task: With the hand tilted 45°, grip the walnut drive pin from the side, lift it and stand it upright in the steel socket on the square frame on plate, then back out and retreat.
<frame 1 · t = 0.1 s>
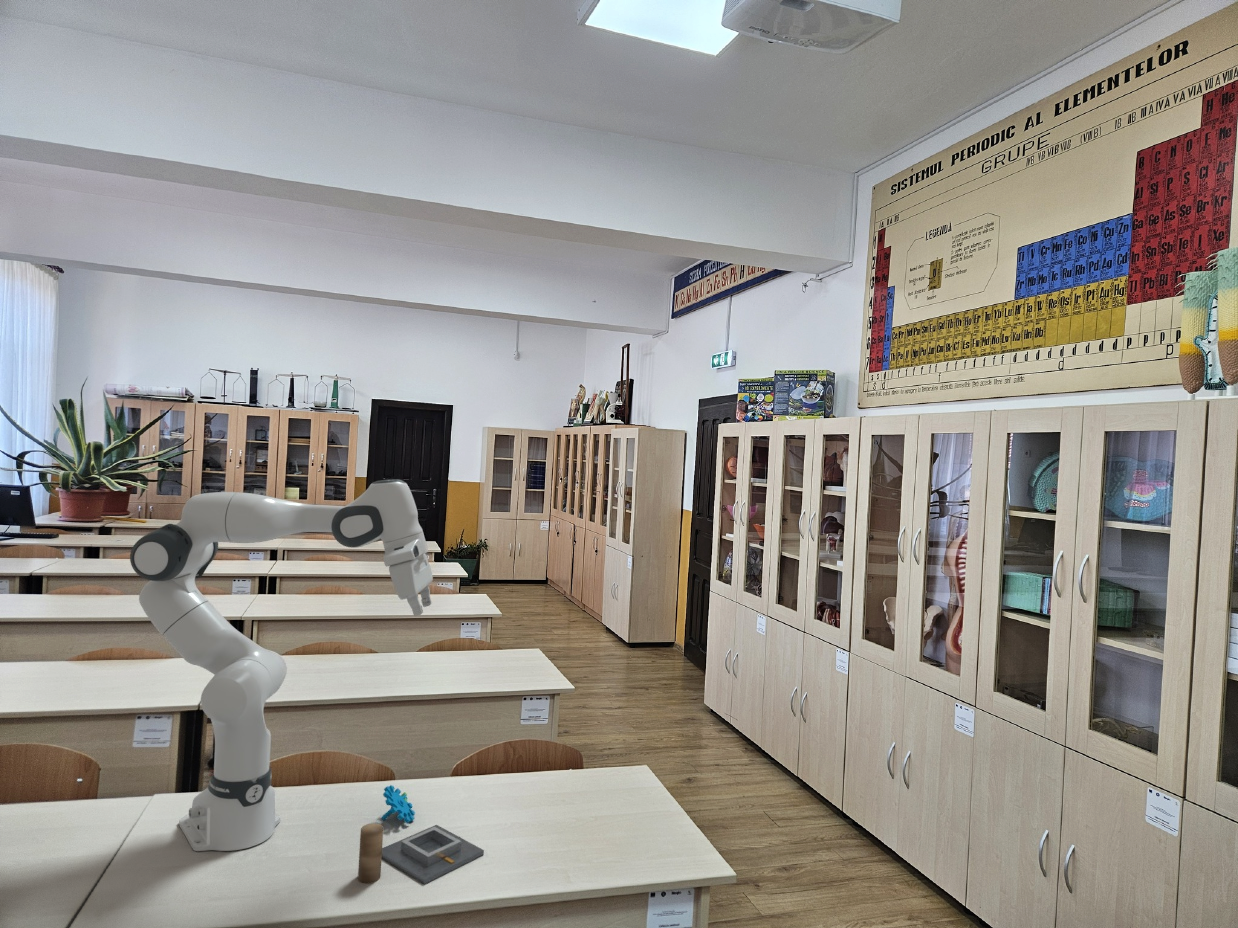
hand: (423, 610, 172), 52 cm above the table, tool tilted 20°, fingers open, 8 cm apart
square frame on plate: (430, 854, 168), on the table
drive pin: (369, 876, 159), on the table
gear: (398, 819, 183), on the table
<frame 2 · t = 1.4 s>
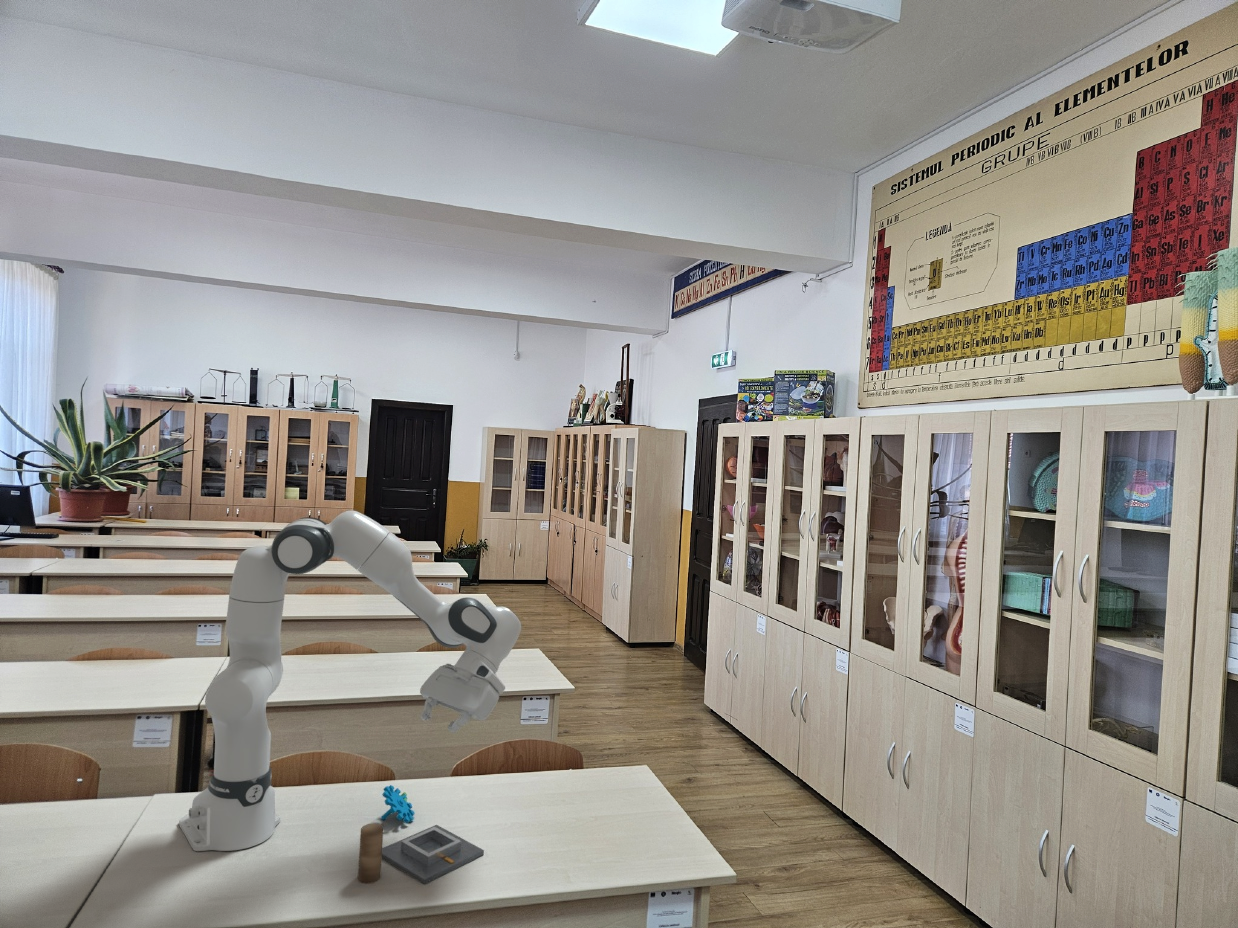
hand: (437, 724, 170), 27 cm above the table, tool tilted 45°, fingers open, 8 cm apart
nothing on the table moved.
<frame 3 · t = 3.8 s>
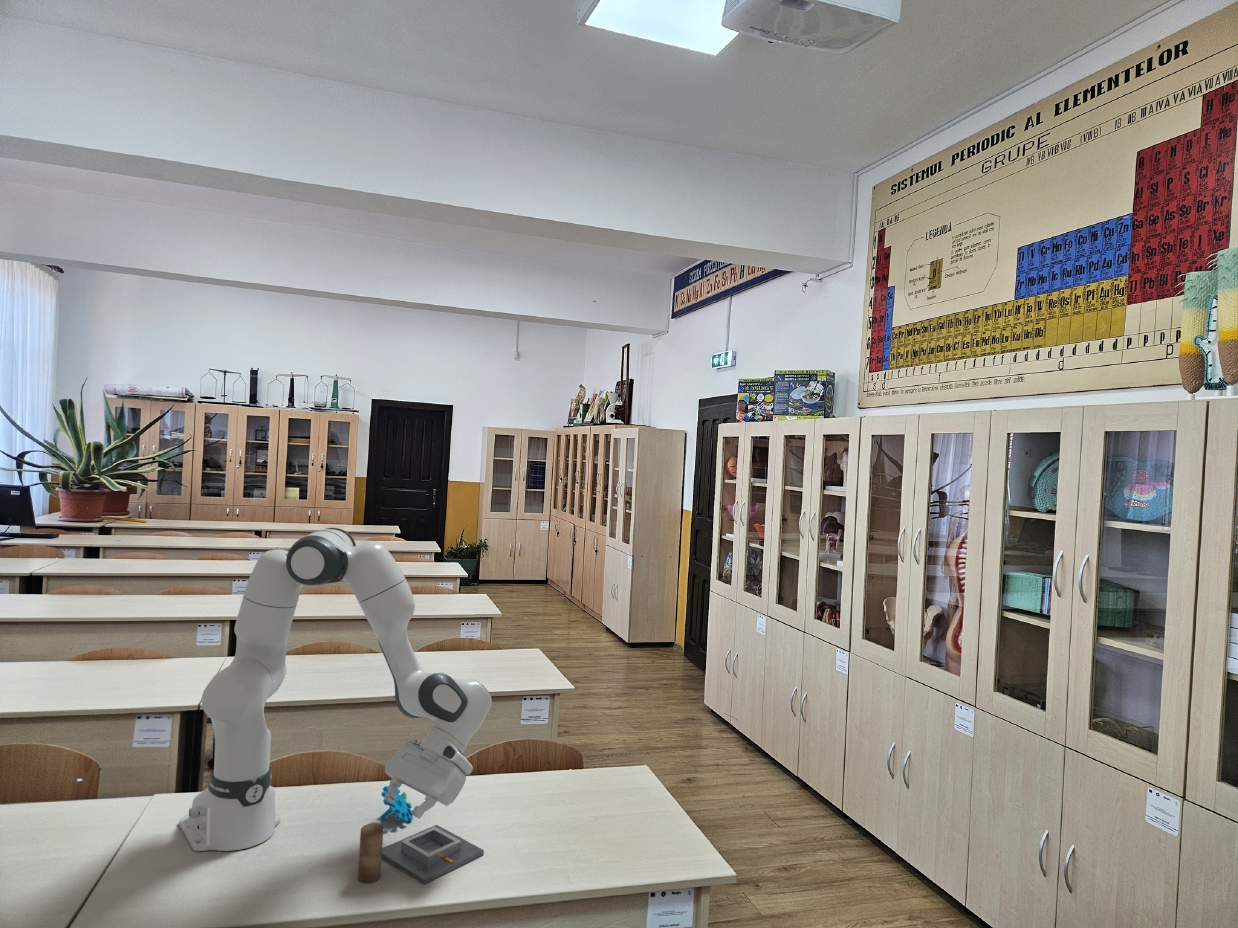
hand: (401, 808, 164), 12 cm above the table, tool tilted 45°, fingers open, 8 cm apart
nothing on the table moved.
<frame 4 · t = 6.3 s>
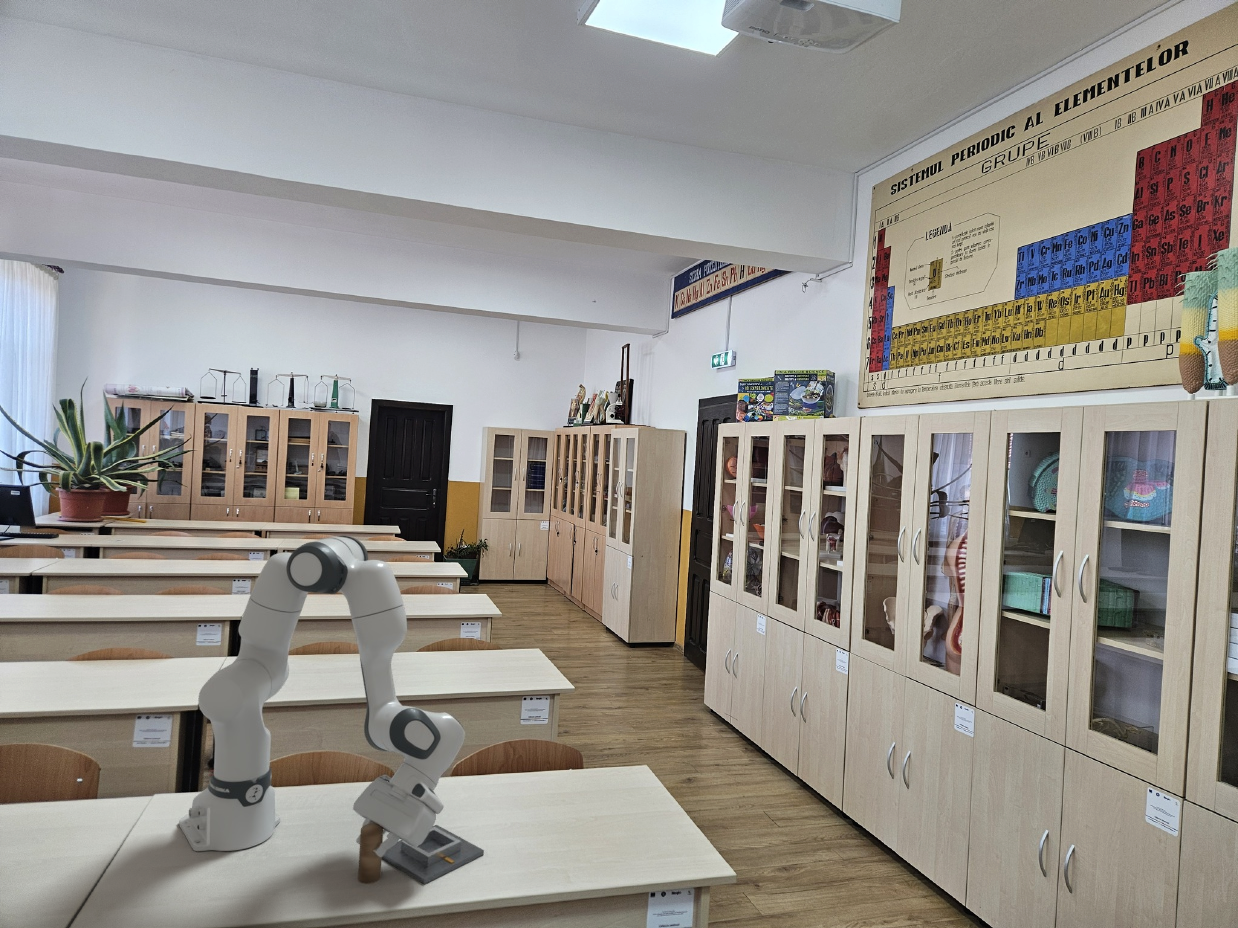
hand: (368, 849, 158), 6 cm above the table, tool tilted 45°, fingers closed on drive pin, 4 cm apart
drive pin: (369, 876, 159), on the table, touching gripper
everything else where it was.
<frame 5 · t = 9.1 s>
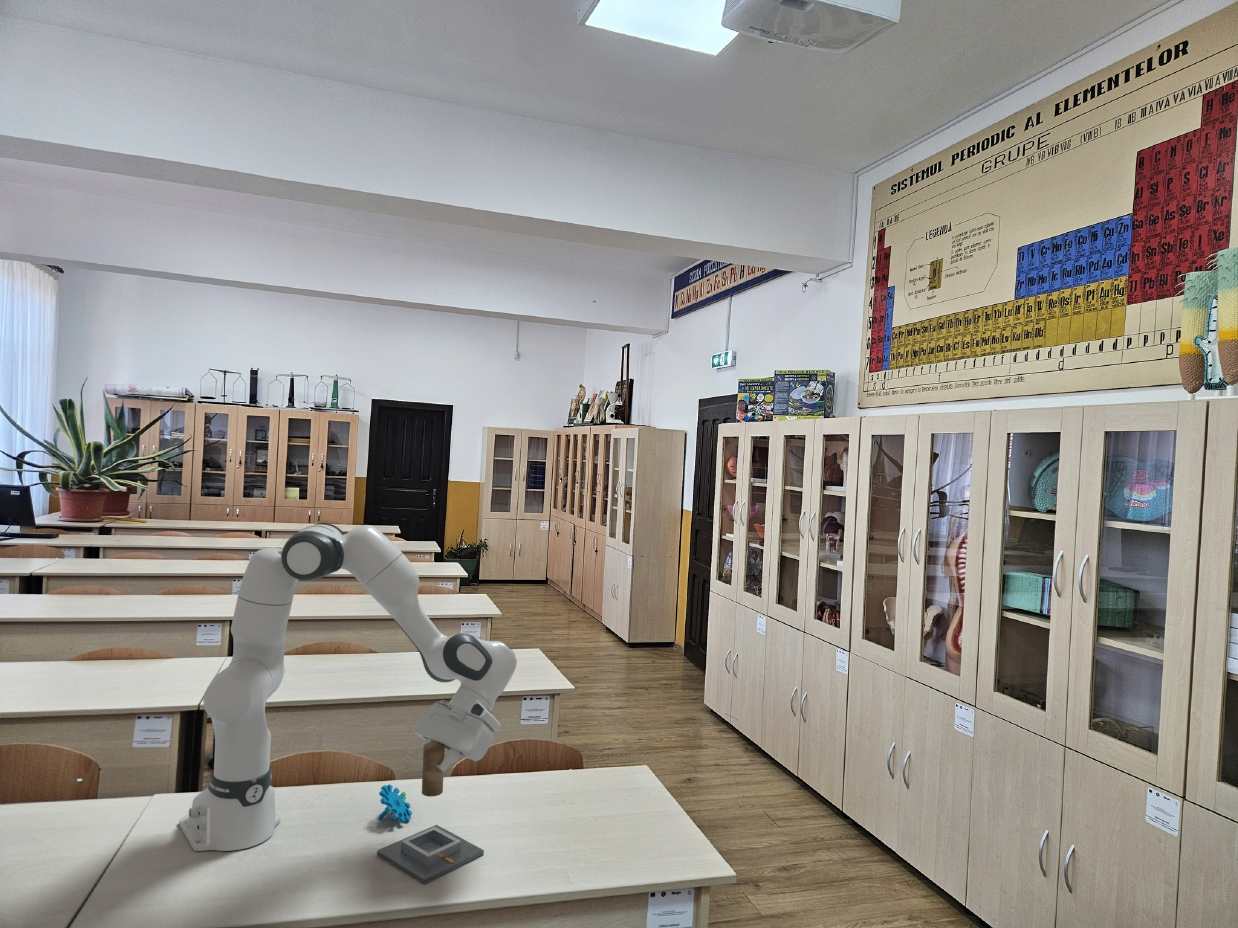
hand: (431, 765, 167), 20 cm above the table, tool tilted 45°, fingers closed on drive pin, 4 cm apart
drive pin: (432, 791, 167), point 14 cm above the table, touching gripper
everything else where it was.
when the fingers open (8 cm above the table, at t = 12.3 s): drive pin drops 1 cm, resting on square frame on plate.
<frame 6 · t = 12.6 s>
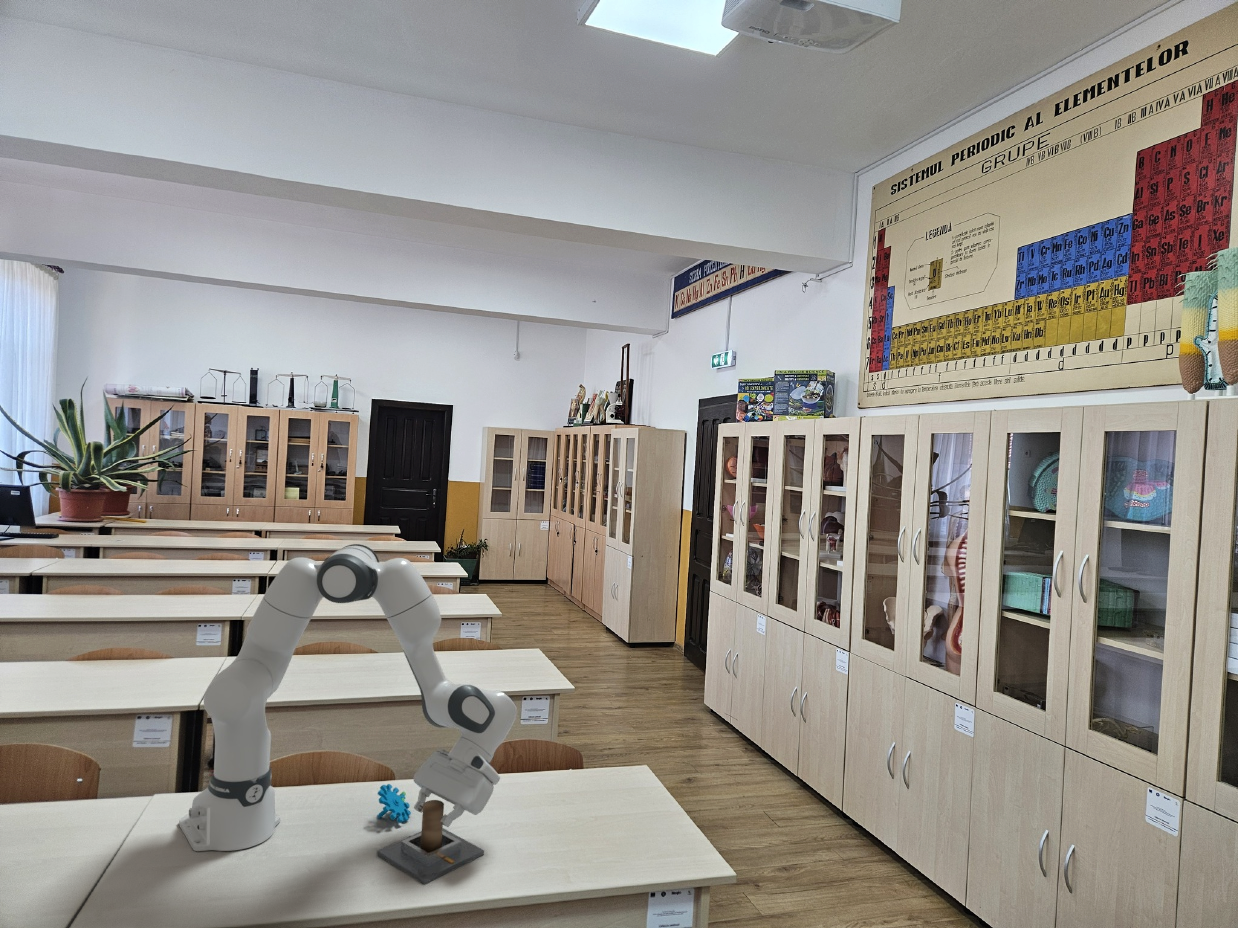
hand: (430, 817, 168), 8 cm above the table, tool tilted 45°, fingers open, 8 cm apart
drive pin: (430, 850, 168), point 1 cm above the table, touching square frame on plate
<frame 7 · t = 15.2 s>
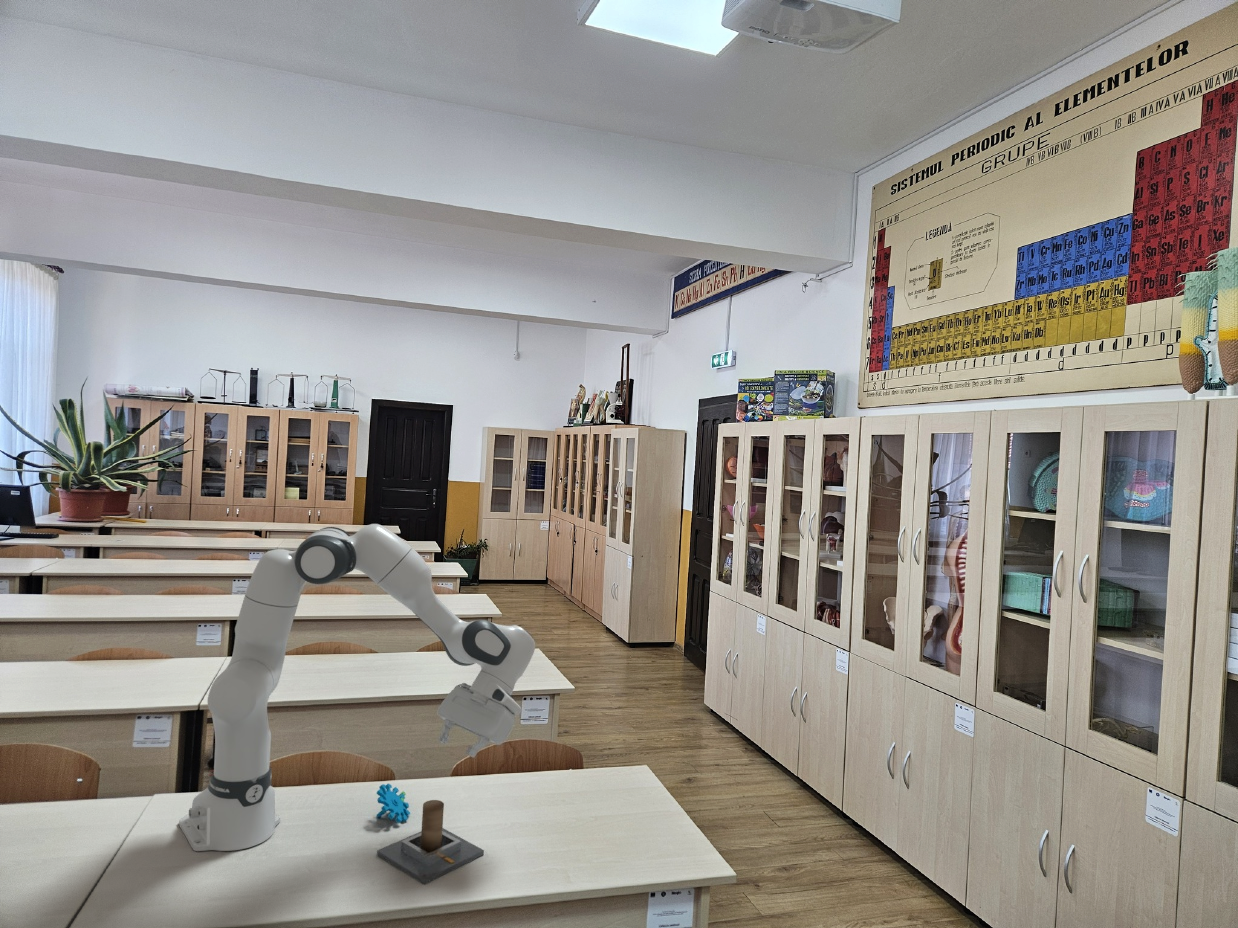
hand: (455, 748, 172), 22 cm above the table, tool tilted 40°, fingers open, 8 cm apart
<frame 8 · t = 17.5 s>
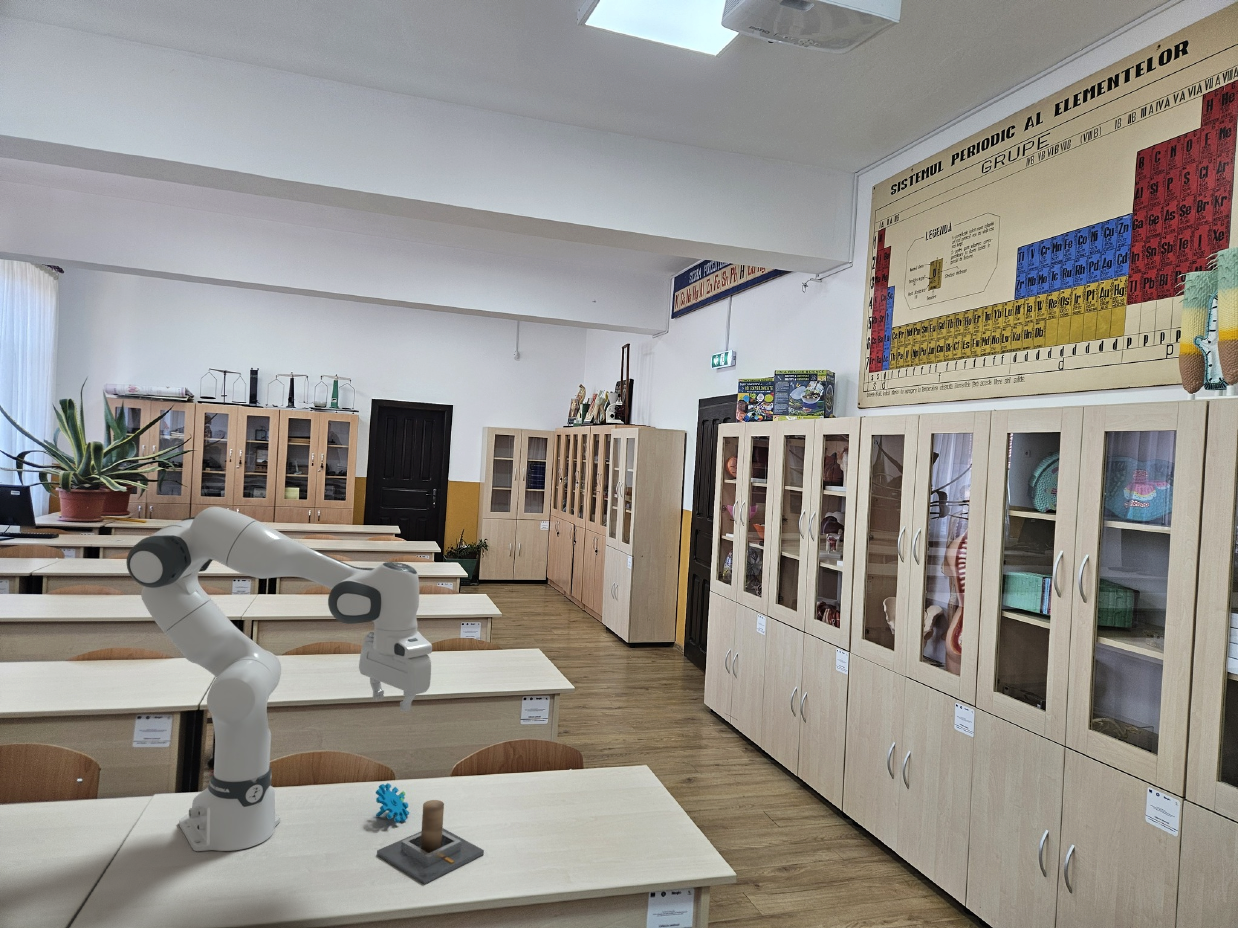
hand: (391, 704, 165), 33 cm above the table, tool pointing down, fingers open, 8 cm apart
at the end: drive pin 0.0 cm off-centre on the square frame on plate, point 1.0 cm above the square frame on plate's base; drive pin tilted 0°; the gripper is holding nothing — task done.
